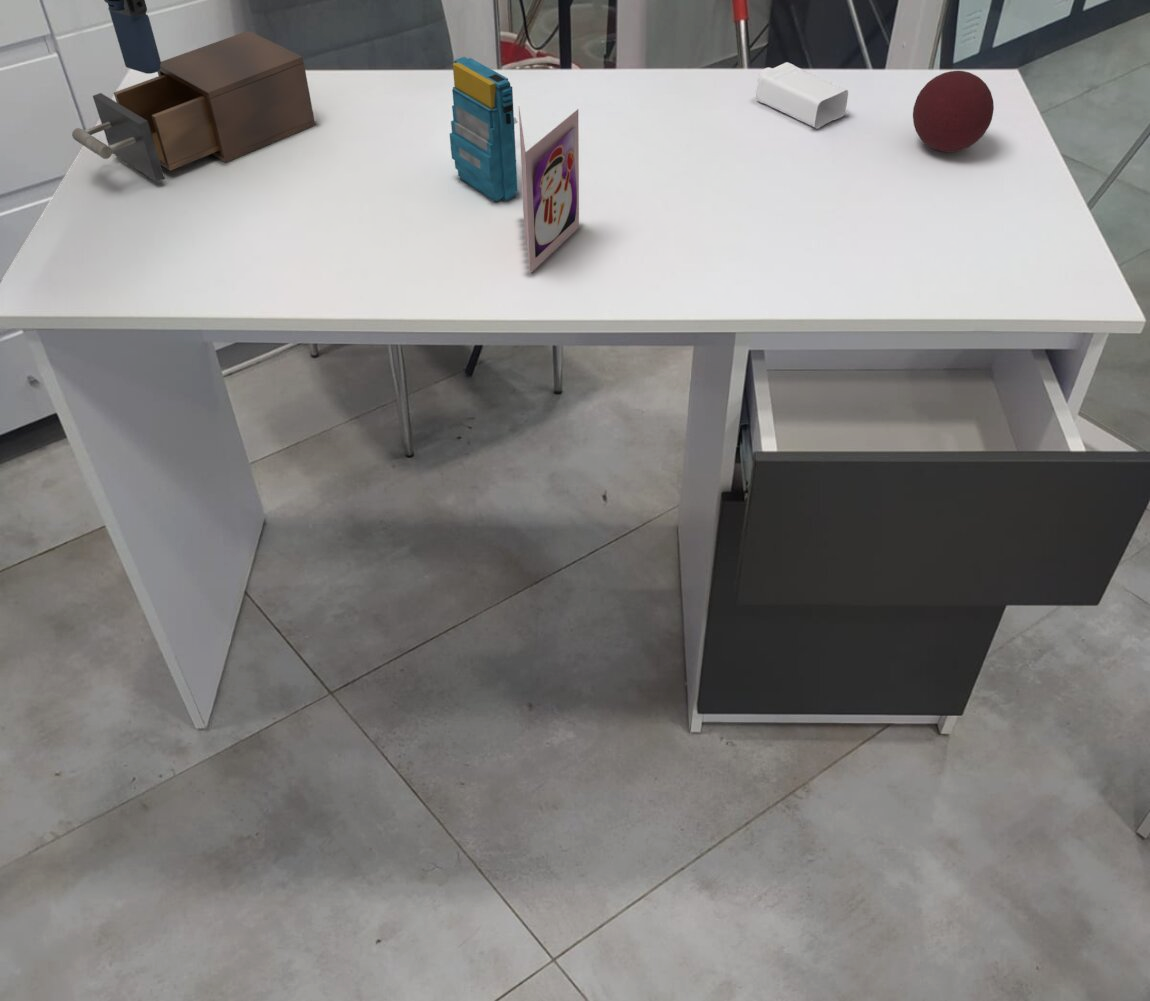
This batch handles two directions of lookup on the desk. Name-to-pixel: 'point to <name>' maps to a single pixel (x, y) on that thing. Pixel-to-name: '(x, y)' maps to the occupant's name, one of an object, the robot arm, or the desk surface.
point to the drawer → (153, 126)
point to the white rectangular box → (801, 94)
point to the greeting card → (550, 189)
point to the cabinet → (247, 91)
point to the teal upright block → (483, 130)
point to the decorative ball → (953, 111)
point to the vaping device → (135, 38)
